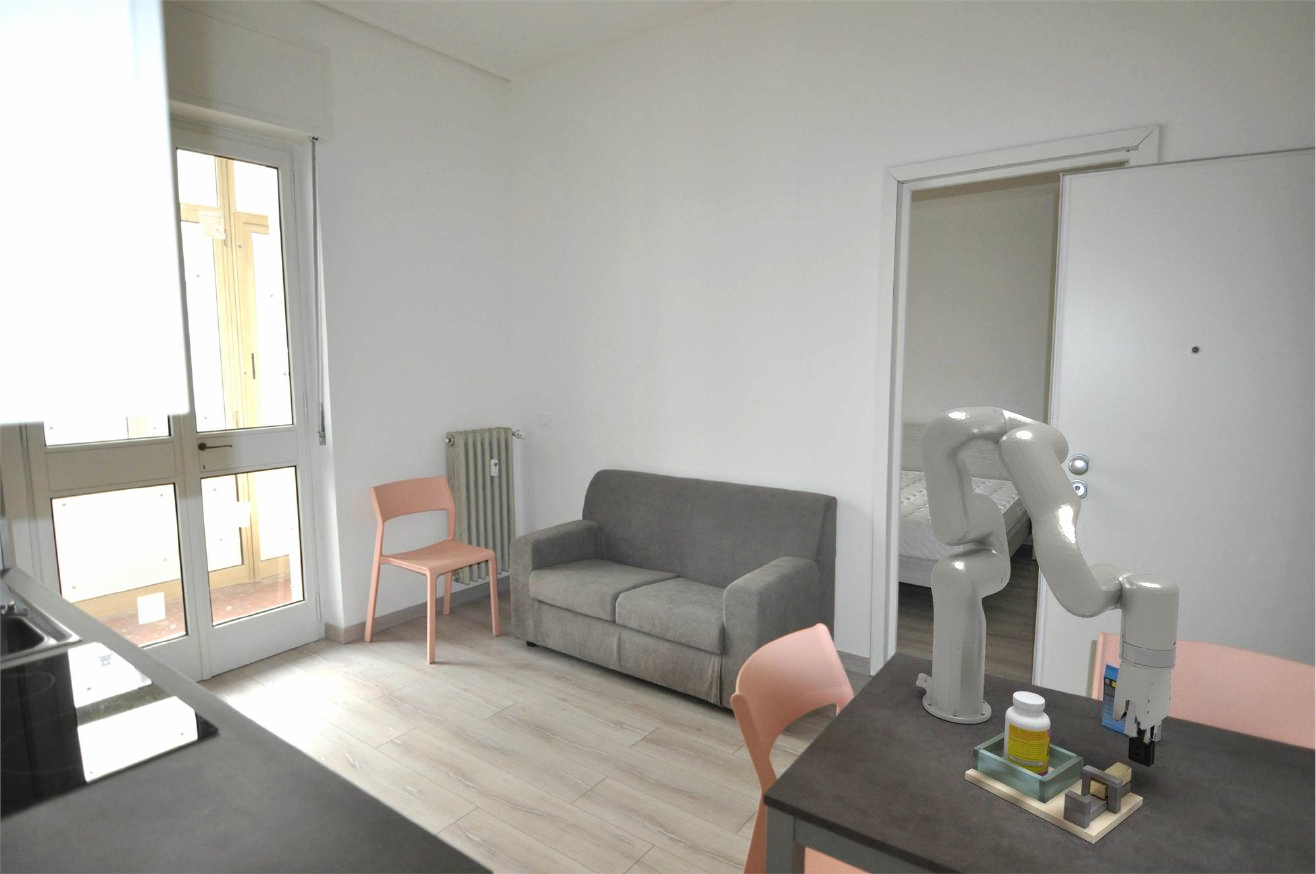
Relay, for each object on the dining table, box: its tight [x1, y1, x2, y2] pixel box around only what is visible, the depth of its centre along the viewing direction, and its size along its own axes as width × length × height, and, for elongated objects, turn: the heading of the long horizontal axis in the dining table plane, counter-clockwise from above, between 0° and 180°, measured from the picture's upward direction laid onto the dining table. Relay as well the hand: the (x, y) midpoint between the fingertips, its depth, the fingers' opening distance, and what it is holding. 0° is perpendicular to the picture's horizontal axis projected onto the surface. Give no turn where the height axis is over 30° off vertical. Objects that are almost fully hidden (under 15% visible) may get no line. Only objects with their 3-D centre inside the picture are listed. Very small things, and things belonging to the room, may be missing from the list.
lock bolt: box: [1090, 761, 1132, 799], centre depth 113 cm, size 2×9×2 cm, turn 125°
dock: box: [964, 730, 1144, 845], centre depth 116 cm, size 20×16×6 cm
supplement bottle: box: [1003, 690, 1051, 777], centre depth 119 cm, size 7×7×13 cm
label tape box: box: [1101, 662, 1163, 744], centre depth 134 cm, size 9×4×12 cm, turn 28°
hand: (1140, 761), depth 118 cm, fingers closed
